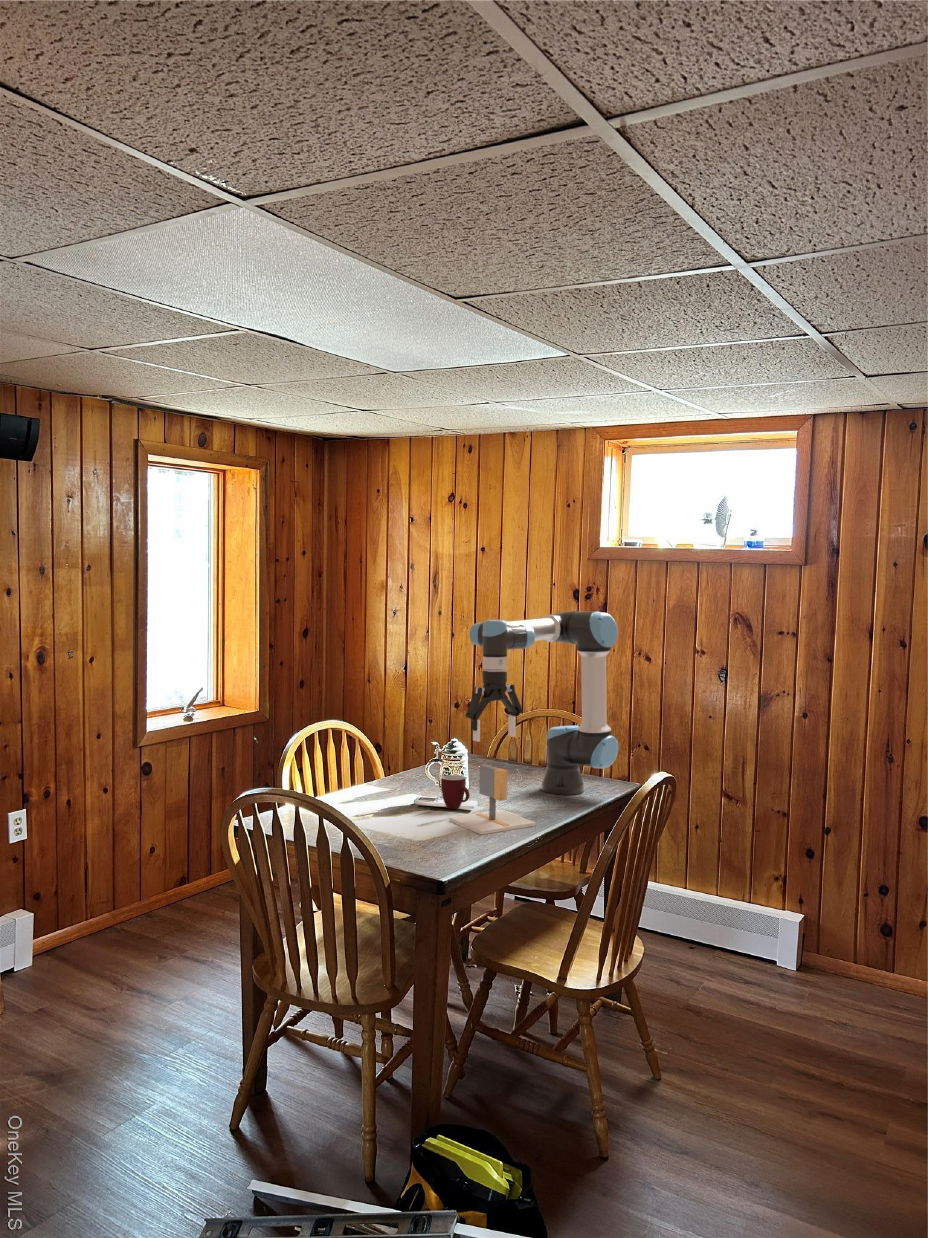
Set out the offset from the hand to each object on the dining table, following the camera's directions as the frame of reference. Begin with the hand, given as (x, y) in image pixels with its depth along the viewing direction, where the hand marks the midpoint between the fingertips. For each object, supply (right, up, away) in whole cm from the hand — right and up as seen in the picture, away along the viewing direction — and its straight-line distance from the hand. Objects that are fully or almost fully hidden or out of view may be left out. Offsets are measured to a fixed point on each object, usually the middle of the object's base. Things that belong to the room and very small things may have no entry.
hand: (494, 738), depth 281 cm
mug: (-12, -26, +19) cm, 34 cm away
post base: (-1, -26, +1) cm, 26 cm away
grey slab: (0, -18, +1) cm, 18 cm away
